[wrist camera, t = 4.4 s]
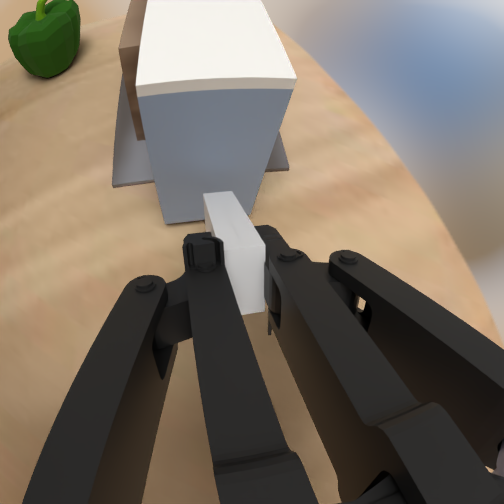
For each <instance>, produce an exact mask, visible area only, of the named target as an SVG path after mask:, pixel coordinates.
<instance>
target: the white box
mask: <svg viewBox="0 0 504 504" xmlns="http://www.w3.org/2000/svg"><path fill="white" fill-rule="evenodd" d="M296 81H297V77H296V75H295V72H294V70H293V68H292V65H291V63H290V61H289V58H288V56H287V54H286V52H285V49H284V47H283V45H282V43H281V41H280V39H279V36H278V34H277V32H276V30H275V28H274V26H273V24H272V22H271V20H270V18H269V16H268V13H267V12H266V10H265V7H264V6H263V4H262V2H261V0H148V1H147V6H146V12H145V17H144V23H143V30H142V36H141V43H140V51H139V58H138V67H137V76H136V91H137V97H138V103H139V108H140V114H141V119H142V124H143V129H144V134H145V139H146V144H147V149H148V154H149V158H150V163H151V167H152V172H153V176H154V181H155V185H156V189H157V193H158V198H159V202H160V206H161V210H162V214H163V218H164V222H165V224H171V223H180V222H188V221H197V220H205V216H204V202H203V194H204V193H215V192H226V191H232V192H233V193H234V195H235V197H236V198H237V200H238V201H239V203H240V205H241V206H242V208H243V210H244V211H245V213H246V214H247V215H250V214H251V211H252V208H253V205H254V202H255V199H256V196H257V193H258V190H259V187H260V184H261V181H262V178H263V175H264V172H265V169H266V167H267V164H268V161H269V158H270V155H271V152H272V149H273V146H274V143H275V140H276V138H277V135H278V132H279V129H280V126H281V123H282V120H283V117H284V115H285V112H286V109H287V106H288V103H289V100H290V98H291V95H292V92H293V89H294V86H295V83H296Z"/></svg>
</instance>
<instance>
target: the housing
mask: <svg viewBox="0 0 504 504" xmlns="http://www.w3.org/2000/svg"><path fill="white" fill-rule="evenodd" d="M147 1H148V0H131V2H130V6H129V9H128V13H127V16H126V20H125V24H124V28H123V32H122V36H121V40H120V44H119V55H120V60H121V66H122V71H123V74H122V80H121V87H120V95H119V103H118V111H117V120H116V131H115V143H114V157H113V176H112V186H113V188H115V187H122V186H129V185H136V184H143V183H151V182H155V181H154V176H153V172H152V167H151V163H150V158H149V154H148V149H147V144H146V139H145V134H144V129H143V124H142V119H141V114H140V108H139V103H138V97H137V91H136V76H137V67H138V58H139V51H140V43H141V36H142V30H143V23H144V17H145V12H146V6H147ZM287 170H289V164H288V160H287V157H286V153H285V150H284V146H283V143H282V139H281V136H280V132H278V135H277V138H276V140H275V143H274V146H273V149H272V152H271V155H270V158H269V161H268V164H267V167H266V169H265V172H269V171H287Z"/></svg>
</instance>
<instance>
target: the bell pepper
mask: <svg viewBox="0 0 504 504" xmlns="http://www.w3.org/2000/svg"><path fill="white" fill-rule="evenodd" d="M46 1H47V0H39V1H38V2H37V7H36V11H33V12H27V13H24V14H23V15H22V16H21V18H20V19H19V20H18V22H17V24H16V25H15V26H14V27H12V28H11V29H9V35H8V40H9V43H10V47H11V49H12V51H13V53H14V56H15V58H16V59H17V60H18V61H19V62H20V64H21V65H22V66H23V67H24V68H25V69H26V70H27V71H28V72H29V73H30V74H33V75H38V76H41V77H45V78H49V77H52V76H54V75H57V74H59V73H61V72H62V71H64V70H65V69H67V68H68V67H69V65H70V64H71V62H72V61H73V58H74V56H76V53H77V51H78V48H79V43H80V14H79V8H78V5H77V4H76V3H75V2H74V1H73V0H69V1H67V0H53V1H51V2H50V3H48V4H46V5H45V3H46Z"/></svg>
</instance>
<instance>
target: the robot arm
mask: <svg viewBox="0 0 504 504" xmlns="http://www.w3.org/2000/svg"><path fill="white" fill-rule="evenodd" d="M203 202H204V216H205V229H206V232H203V233H194V234H188V235H187V236H186V237H185V238H184V240H183V241H184V244H183V247H182V248H183V256H184V264H185V273H184V274H183V275H182V276H181V277H180V278H178V279H176V280H174V281H172V282H169V283H166V282H165V281H164V279H163V278H161V277H159V276H154V275H143V276H141V277H137V278H135V279H133V280H132V281H130V282H129V283H128V284H127V285H126V287H125V288H124V290H123V292H122V293H121V295H120V297H119V298H118V300H117V302H116V303H115V305H114V307H113V309H112V310H111V312H110V314H109V316H108V317H107V319H106V321H105V323H104V325H103V326H102V328H101V330H100V332H99V334H98V335H97V337H96V339H95V341H94V343H93V345H92V346H91V348H90V350H89V352H88V354H87V356H86V358H85V360H84V362H83V364H82V366H81V368H80V369H79V371H78V373H77V375H76V377H75V379H74V381H73V383H72V385H71V387H70V390H69V392H68V394H67V396H66V398H65V400H64V402H63V404H62V406H61V408H60V411H59V413H58V415H57V417H56V419H55V422H54V424H53V426H52V428H51V431H50V433H49V435H48V437H47V440H46V442H45V445H44V447H43V449H42V452H41V454H40V457H39V459H38V462H37V464H36V467H35V469H34V472H33V475H32V477H31V480H30V483H29V485H28V488H27V491H26V494H25V496H24V499H23V502H22V504H141V503H142V498H143V493H144V488H145V484H146V479H147V474H148V470H149V465H150V460H151V456H152V451H153V447H154V443H155V438H156V434H157V430H158V425H159V421H160V417H161V413H162V409H163V405H164V401H165V397H166V392H167V389H168V385H169V381H170V377H171V373H172V369H173V365H174V361H175V358H176V354H177V350H178V343H179V342H181V341H184V340H187V339H189V338H192V337H193V344H194V351H195V359H196V366H197V373H198V380H199V386H200V393H201V399H202V405H203V411H204V417H205V423H206V428H207V434H208V439H209V445H210V450H211V455H212V461H213V470H214V476H215V481H216V486H217V491H218V495H219V500H220V504H319V503H318V501H317V499H316V496H315V494H314V491H313V489H312V486H311V484H310V481H309V479H308V476H307V474H306V471H305V469H304V466H303V464H302V462H301V460H300V458H299V457H298V455H297V454H296V452H293V451H291V450H290V449H289V447H288V445H287V443H286V441H285V438H284V435H283V433H282V430H281V427H280V424H279V422H278V419H277V416H276V413H275V411H274V408H273V405H272V402H271V399H270V397H269V394H268V391H267V388H266V385H265V382H264V380H263V377H262V374H261V371H260V368H259V365H258V362H257V360H256V357H255V354H254V351H253V348H252V345H251V342H250V339H249V336H248V333H247V330H246V327H245V324H244V321H243V318H242V315H244V314H251V313H258V312H264V311H265V300H266V302H267V305H268V335H271V330H272V329H273V331H274V333H275V335H276V338H277V340H278V342H279V345H280V347H281V349H282V351H283V354H284V356H285V358H286V361H287V363H288V365H289V368H290V370H291V372H292V374H293V377H294V379H295V381H296V384H297V386H298V388H299V390H300V393H301V395H302V397H303V400H304V402H305V404H306V406H307V409H308V411H309V413H310V415H311V418H312V420H313V422H314V424H315V427H316V429H317V431H318V433H319V436H320V438H321V440H322V442H323V445H324V447H325V449H326V451H327V454H328V456H329V458H330V460H331V463H332V465H333V467H334V469H335V472H336V474H337V478H338V491H339V496H340V499H341V501H342V503H338V504H504V350H503V349H502V348H501V347H499V346H498V345H497V344H495V343H494V342H492V341H491V340H490V339H488V338H487V337H485V336H484V335H483V334H481V333H480V332H478V331H477V330H476V329H474V328H473V327H471V326H470V325H468V324H467V323H466V322H464V321H463V320H461V319H460V318H458V317H457V316H455V315H454V314H452V313H451V312H449V311H448V310H447V309H445V308H444V307H442V306H441V305H439V304H438V303H436V302H435V301H433V300H432V299H430V298H429V297H427V296H426V295H424V294H423V293H421V292H419V291H418V290H416V289H415V288H413V287H412V286H410V285H409V284H407V283H406V282H404V281H402V280H401V279H399V278H398V277H396V276H395V275H393V274H392V273H390V272H388V271H387V270H385V269H384V268H382V267H380V266H379V265H377V264H376V263H374V262H372V261H371V260H369V259H368V258H366V257H364V256H363V255H361V254H359V253H356V252H353V251H350V250H341V251H336V252H333V253H332V254H331V255H330V257H329V263H321V262H312V261H311V260H310V259H309V258H308V256H307V255H306V254H305V253H304V252H302V251H300V250H297V249H292V248H290V247H289V246H288V244H287V243H286V242H285V240H284V239H283V238H282V236H281V235H280V234H279V232H278V231H277V230H276V229H275V228H273V227H271V226H269V225H261V226H253V224H252V222H251V221H250V219H249V218H248V216H247V214H246V213H245V211H244V210H243V208H242V206H241V205H240V203H239V201H238V200H237V198H236V197H235V195H234V193H233V192H232V191H226V192H215V193H204V194H203ZM360 297H361V298H362V299H364V300H365V301H366V303H365V307H364V310H361V309H360V308H358V303H359V298H360ZM485 466H487V467H489V468H491V469H493V470H494V471H493V472H492V473H490V472H489V471H488V470H487V468H486V467H485Z"/></svg>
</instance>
